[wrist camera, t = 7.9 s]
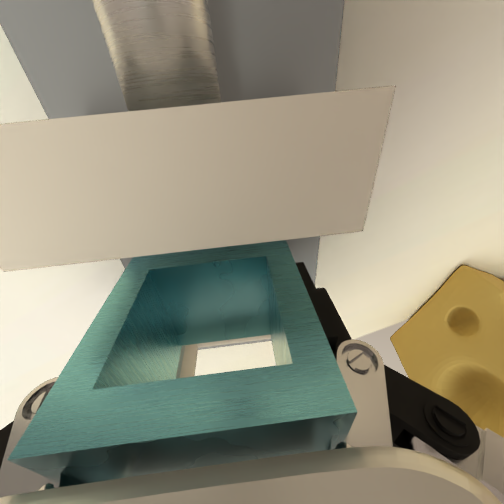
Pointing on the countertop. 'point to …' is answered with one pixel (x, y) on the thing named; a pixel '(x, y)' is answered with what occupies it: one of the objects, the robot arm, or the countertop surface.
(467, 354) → the cheese
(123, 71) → the shaft
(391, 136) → the countertop surface
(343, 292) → the countertop surface
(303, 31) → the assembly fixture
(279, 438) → the frame
